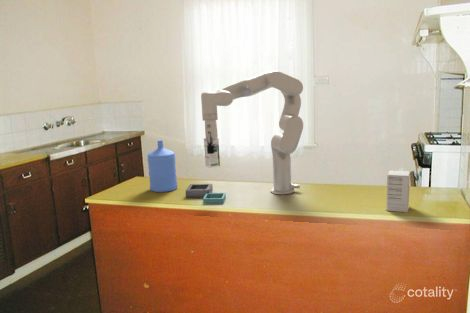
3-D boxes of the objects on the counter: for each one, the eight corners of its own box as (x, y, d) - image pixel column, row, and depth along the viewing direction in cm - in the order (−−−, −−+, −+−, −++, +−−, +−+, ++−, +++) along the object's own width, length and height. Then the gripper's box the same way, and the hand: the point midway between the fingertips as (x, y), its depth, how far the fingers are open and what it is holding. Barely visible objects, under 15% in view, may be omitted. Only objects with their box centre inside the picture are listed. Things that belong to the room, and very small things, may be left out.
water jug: (168, 193, 240) (165, 143, 234) (144, 191, 246) (140, 143, 240) (182, 186, 254) (179, 139, 248) (159, 184, 260) (155, 138, 254)
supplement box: (408, 212, 192) (409, 176, 189) (386, 210, 196) (387, 174, 192) (408, 206, 201) (410, 170, 197) (387, 204, 204) (388, 169, 201)
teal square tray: (225, 197, 228) (225, 192, 227) (223, 203, 218) (223, 198, 217) (206, 197, 229) (206, 193, 228) (203, 203, 219) (203, 198, 218)
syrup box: (209, 167, 216) (208, 139, 213) (205, 165, 221) (203, 137, 218) (220, 166, 218) (218, 137, 215) (215, 164, 223) (213, 136, 220)
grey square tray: (212, 190, 241) (212, 183, 241) (209, 197, 229) (208, 190, 228) (190, 191, 243) (190, 184, 242) (186, 197, 230) (185, 190, 230)
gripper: (215, 118, 206) (217, 155, 209) (219, 114, 223) (221, 148, 226) (199, 119, 206) (201, 155, 210) (205, 115, 223) (207, 148, 227)
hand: (211, 151), depth 218 cm, fingers closed on syrup box, 7 cm apart
